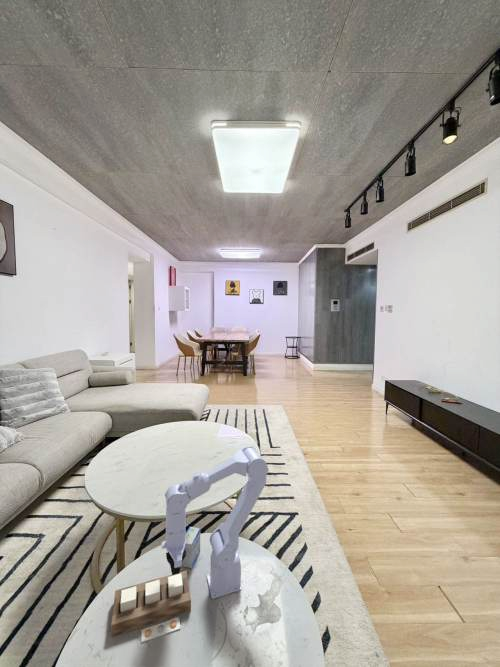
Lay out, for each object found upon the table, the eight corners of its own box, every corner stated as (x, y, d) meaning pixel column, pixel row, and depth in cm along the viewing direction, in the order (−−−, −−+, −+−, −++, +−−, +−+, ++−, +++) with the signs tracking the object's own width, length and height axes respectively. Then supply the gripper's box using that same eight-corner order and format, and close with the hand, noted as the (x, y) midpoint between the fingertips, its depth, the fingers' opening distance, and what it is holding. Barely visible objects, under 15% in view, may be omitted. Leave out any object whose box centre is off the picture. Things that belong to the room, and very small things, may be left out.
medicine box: (191, 569, 96) (192, 545, 96) (179, 566, 97) (179, 542, 97) (200, 550, 104) (200, 527, 103) (189, 548, 105) (189, 525, 104)
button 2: (181, 582, 89) (181, 573, 88) (182, 594, 85) (182, 584, 85) (167, 586, 87) (167, 577, 87) (168, 599, 83) (168, 588, 83)
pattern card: (179, 618, 81) (179, 616, 81) (180, 629, 78) (180, 627, 78) (141, 630, 77) (141, 629, 77) (141, 642, 74) (141, 641, 74)
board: (186, 580, 92) (186, 570, 92) (190, 610, 83) (191, 599, 83) (115, 601, 85) (115, 590, 85) (111, 637, 76) (111, 625, 75)
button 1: (136, 596, 84) (136, 586, 84) (136, 609, 80) (136, 598, 80) (121, 600, 83) (121, 590, 82) (120, 614, 79) (120, 603, 79)
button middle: (159, 589, 86) (159, 579, 86) (160, 601, 83) (160, 591, 82) (145, 593, 85) (145, 583, 85) (145, 606, 81) (145, 596, 81)
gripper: (160, 513, 90) (160, 553, 91) (163, 549, 76) (162, 596, 77) (183, 508, 92) (182, 548, 93) (189, 542, 79) (189, 588, 80)
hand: (175, 569), depth 86 cm, fingers closed
